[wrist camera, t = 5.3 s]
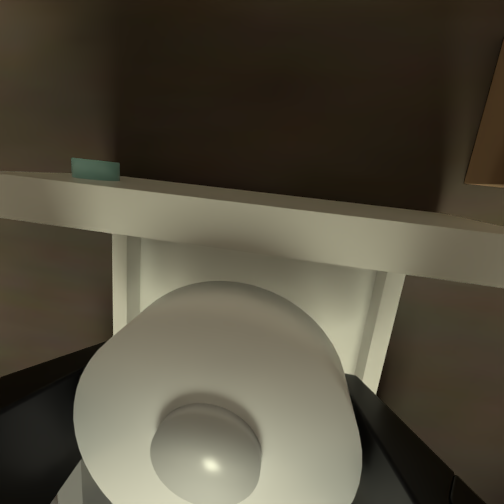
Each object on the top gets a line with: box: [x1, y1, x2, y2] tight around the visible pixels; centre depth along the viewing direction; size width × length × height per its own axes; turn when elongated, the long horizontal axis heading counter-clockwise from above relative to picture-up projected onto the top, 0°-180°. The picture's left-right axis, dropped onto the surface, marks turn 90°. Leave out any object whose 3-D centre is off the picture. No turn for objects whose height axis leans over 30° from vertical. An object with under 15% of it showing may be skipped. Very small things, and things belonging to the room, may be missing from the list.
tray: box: [0, 158, 504, 394], centre depth 10 cm, size 12×13×5 cm
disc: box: [73, 281, 362, 504], centre depth 7 cm, size 6×6×2 cm
